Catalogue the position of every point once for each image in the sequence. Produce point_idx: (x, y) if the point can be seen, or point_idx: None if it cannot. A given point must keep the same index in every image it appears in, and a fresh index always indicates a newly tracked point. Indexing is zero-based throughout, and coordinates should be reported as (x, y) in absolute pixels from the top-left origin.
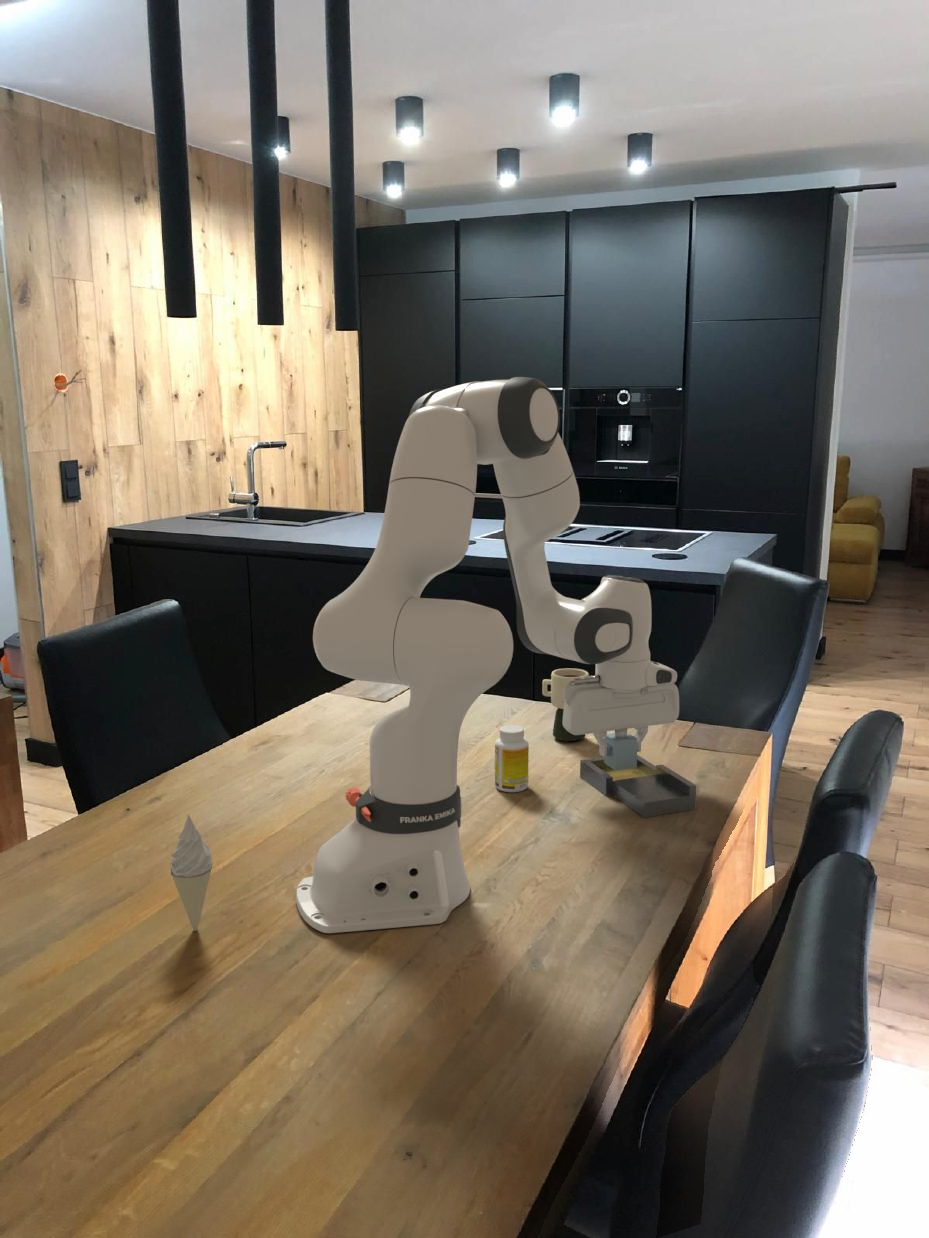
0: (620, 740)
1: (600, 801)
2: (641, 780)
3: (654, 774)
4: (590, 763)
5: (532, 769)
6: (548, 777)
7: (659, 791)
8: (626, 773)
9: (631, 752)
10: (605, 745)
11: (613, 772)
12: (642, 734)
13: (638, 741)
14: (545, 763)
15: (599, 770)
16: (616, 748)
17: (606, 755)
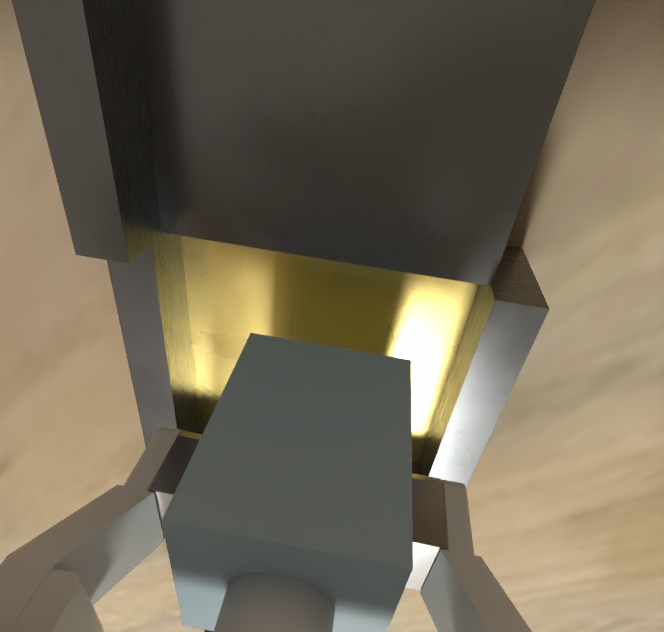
0: (348, 564)
1: (621, 198)
2: (308, 195)
3: (166, 242)
4: None
5: (538, 565)
6: (555, 506)
7: None
8: None
9: (264, 424)
10: (466, 565)
11: None
12: (76, 547)
13: (146, 497)
14: None
15: (473, 413)
16: (406, 498)
17: (446, 481)
